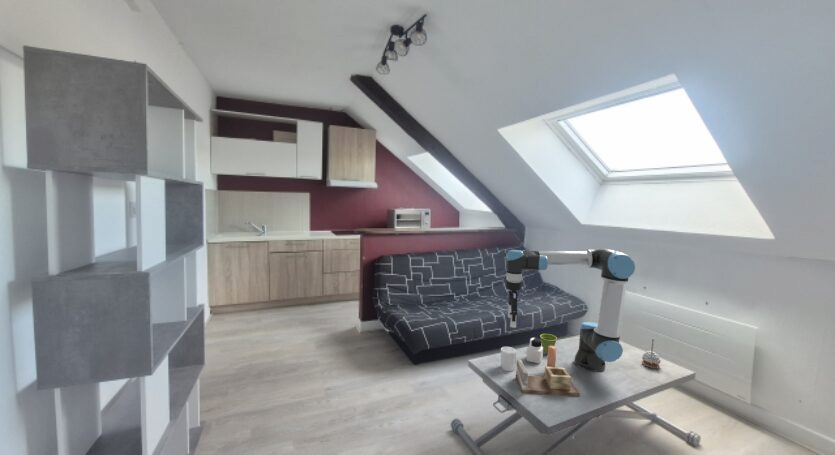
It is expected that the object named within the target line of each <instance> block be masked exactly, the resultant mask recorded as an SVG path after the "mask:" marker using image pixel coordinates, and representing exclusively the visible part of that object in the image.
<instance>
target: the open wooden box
mask: <svg viewBox="0 0 835 455" xmlns="http://www.w3.org/2000/svg"><path fill="white" fill-rule="evenodd" d="M544 377H545V380H546V382H547V383H548V385H549V387H550V388H551V389H566V390H570V388H571V382H572V377H571V375H570V373H569V372H568V371H567V369H566V368H565V367H559V366H558V367H557V366H555V367H547V366H545V368H544Z"/></svg>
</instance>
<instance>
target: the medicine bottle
mask: <svg viewBox="0 0 835 455" xmlns="http://www.w3.org/2000/svg"><path fill="white" fill-rule="evenodd" d="M543 355H544V351H543V347H542V341H541V338H538V337H531V338H530V339H529V346H528V347H527V348H526V361H527V362H531V363H534V364H538V365H540V364H541V363H542V361H543V359H544V358H543V357H544V356H543Z"/></svg>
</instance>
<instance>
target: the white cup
mask: <svg viewBox="0 0 835 455" xmlns="http://www.w3.org/2000/svg"><path fill="white" fill-rule="evenodd" d="M516 358H517V350H516V349H515V348H514V347H512V346H511V347H510V346H502V347H501V348H500V368H501V369H502V370H503V371H506V372H513V371H514V370H515V367H516V366H515V364H516V361H517V359H516Z"/></svg>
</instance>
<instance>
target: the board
mask: <svg viewBox="0 0 835 455" xmlns="http://www.w3.org/2000/svg"><path fill="white" fill-rule="evenodd" d="M515 372H516V373H515V380H516V382H517V385H518V386H519V389H520V391H521V393H522V394H537V395H538V394H539V395H550V396H551V395H552V396H553V395H556V396H571V397H580V395H581V393H580V391H579V389H578V388H577V387H576V385H575V384H574V383H573V381H571V388H570V390H566V389H551V388H550V387H549V385H548V383H547V382H546V380H545V376H544V375H543V376H541V375H529V373H528V371H527V369H526V366H525V365H524V363H523V361H522V359H516V370H515Z"/></svg>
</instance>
